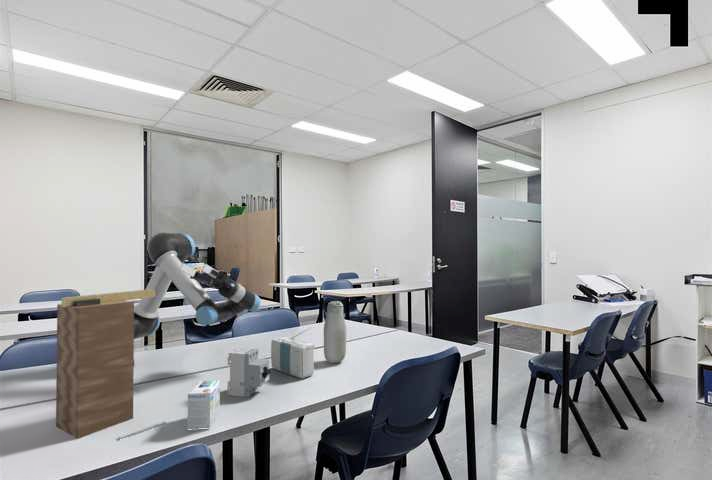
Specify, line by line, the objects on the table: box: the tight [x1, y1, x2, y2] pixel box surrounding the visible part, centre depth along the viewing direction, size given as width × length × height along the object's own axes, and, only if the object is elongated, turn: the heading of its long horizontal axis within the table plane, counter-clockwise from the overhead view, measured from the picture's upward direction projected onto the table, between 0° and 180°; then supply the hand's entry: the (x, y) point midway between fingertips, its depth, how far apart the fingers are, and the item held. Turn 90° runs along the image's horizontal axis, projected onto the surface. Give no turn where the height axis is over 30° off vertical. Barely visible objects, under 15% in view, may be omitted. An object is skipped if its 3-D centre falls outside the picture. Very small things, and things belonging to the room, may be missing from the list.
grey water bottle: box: [323, 300, 347, 364], centre depth 176 cm, size 10×10×28 cm
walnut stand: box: [55, 299, 135, 439], centre depth 117 cm, size 14×15×38 cm
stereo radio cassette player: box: [270, 326, 316, 380], centre depth 162 cm, size 21×8×20 cm, turn 47°
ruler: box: [117, 420, 167, 441], centre depth 111 cm, size 12×1×1 cm, turn 140°
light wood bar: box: [60, 289, 155, 307], centre depth 121 cm, size 3×26×2 cm, turn 148°
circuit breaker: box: [227, 347, 272, 397], centre depth 140 cm, size 8×14×15 cm, turn 78°
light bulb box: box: [187, 380, 221, 429], centre depth 116 cm, size 11×7×11 cm, turn 5°
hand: (192, 266), depth 145 cm, fingers open, 13 cm apart
